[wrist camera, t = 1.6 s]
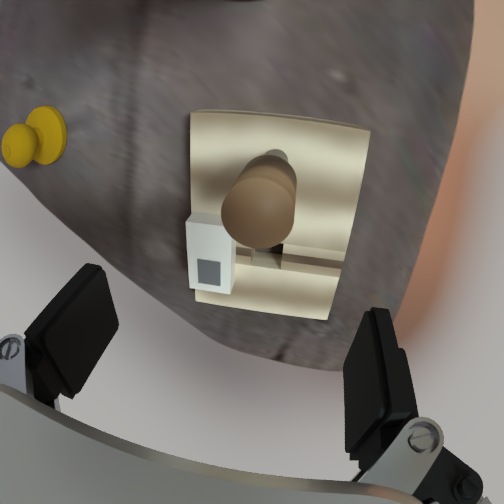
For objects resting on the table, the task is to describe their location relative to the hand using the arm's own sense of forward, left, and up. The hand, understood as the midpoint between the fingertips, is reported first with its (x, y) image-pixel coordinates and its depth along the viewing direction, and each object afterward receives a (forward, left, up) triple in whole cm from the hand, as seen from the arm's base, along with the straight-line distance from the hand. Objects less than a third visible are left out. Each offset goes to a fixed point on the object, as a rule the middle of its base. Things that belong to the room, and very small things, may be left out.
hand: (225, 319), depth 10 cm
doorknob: (-2, -30, -23) cm, 38 cm away
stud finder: (+10, -6, -20) cm, 23 cm away
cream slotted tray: (+7, 0, -23) cm, 24 cm away
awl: (0, 0, -20) cm, 20 cm away
